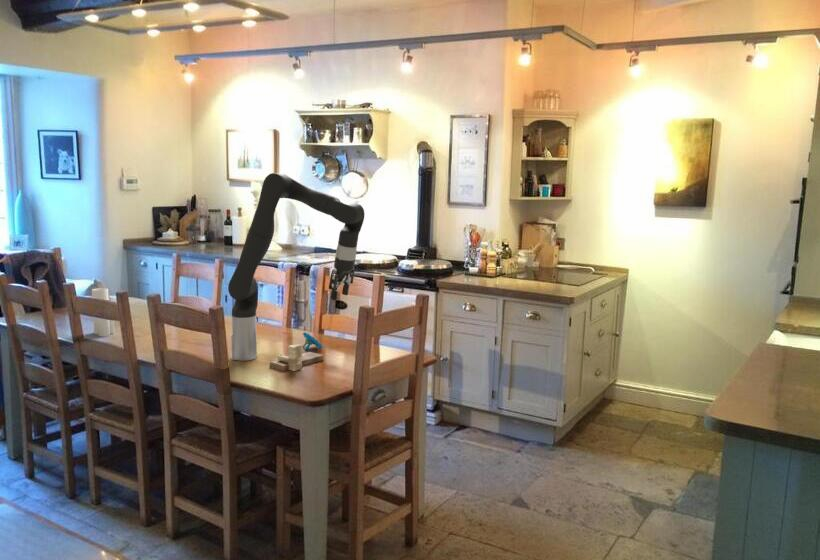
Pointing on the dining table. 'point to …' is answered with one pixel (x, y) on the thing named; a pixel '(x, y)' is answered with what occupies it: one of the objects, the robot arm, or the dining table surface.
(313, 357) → the board
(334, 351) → the dining table surface
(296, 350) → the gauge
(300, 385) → the dining table surface
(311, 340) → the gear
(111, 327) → the vase
